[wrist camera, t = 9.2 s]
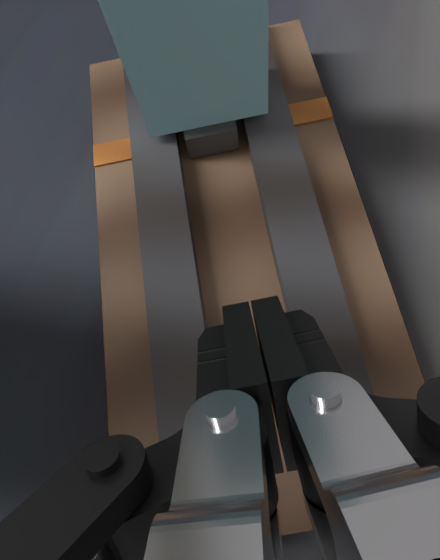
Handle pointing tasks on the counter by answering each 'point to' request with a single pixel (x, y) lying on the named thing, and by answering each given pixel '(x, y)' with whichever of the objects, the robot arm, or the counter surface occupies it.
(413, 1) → the counter surface
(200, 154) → the fader tab
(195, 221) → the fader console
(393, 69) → the counter surface
